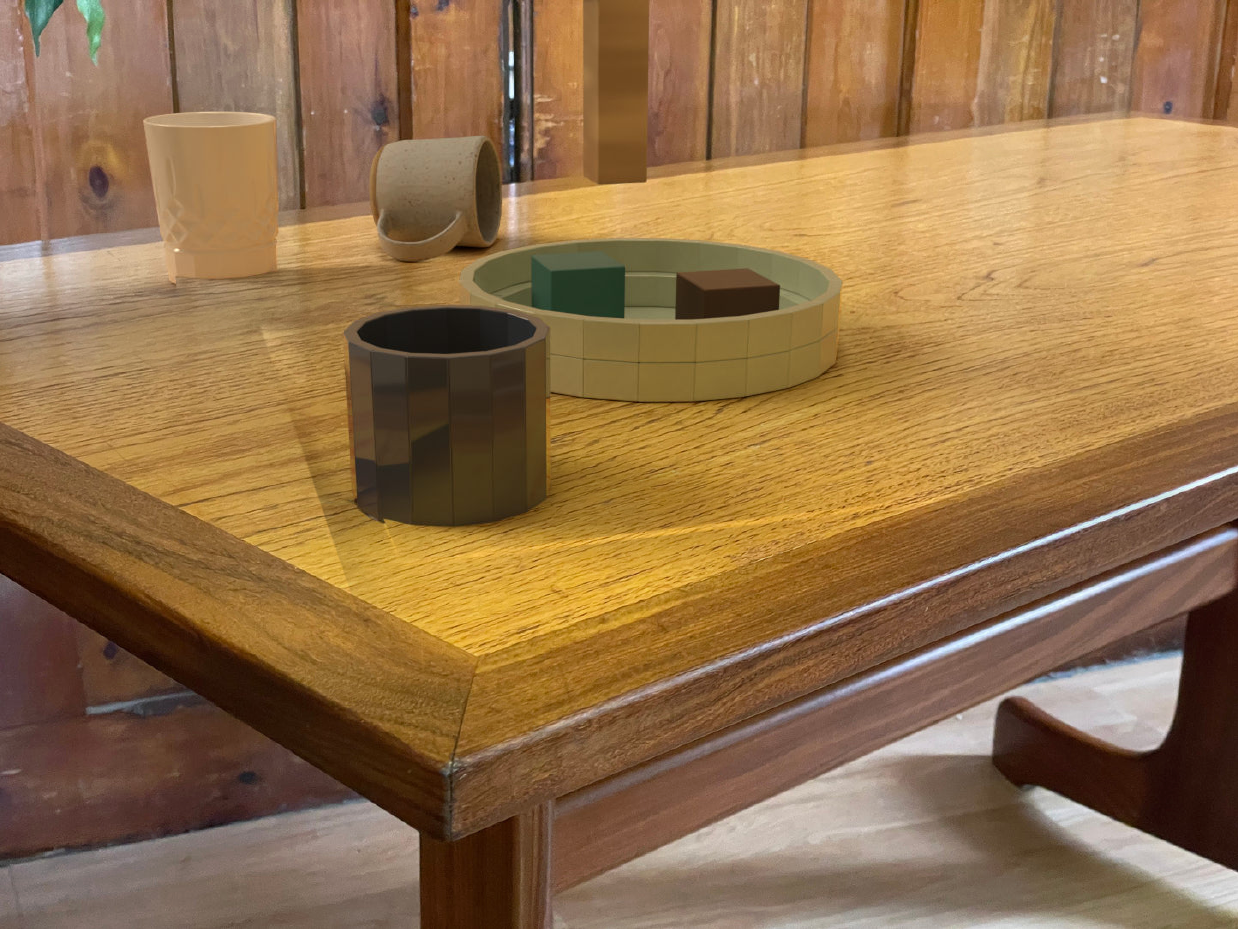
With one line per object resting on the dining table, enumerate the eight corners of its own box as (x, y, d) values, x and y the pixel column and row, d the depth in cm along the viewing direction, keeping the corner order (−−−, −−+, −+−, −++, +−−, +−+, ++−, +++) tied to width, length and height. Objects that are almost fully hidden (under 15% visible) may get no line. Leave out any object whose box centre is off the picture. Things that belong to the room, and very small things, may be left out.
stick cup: (342, 482, 55) (331, 311, 52) (522, 464, 57) (520, 299, 55) (371, 556, 48) (360, 364, 46) (573, 532, 51) (573, 348, 48)
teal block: (531, 327, 75) (530, 254, 73) (601, 322, 76) (602, 250, 74) (551, 346, 71) (551, 270, 70) (624, 341, 72) (625, 266, 71)
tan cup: (132, 283, 86) (114, 120, 83) (218, 260, 93) (204, 108, 90) (230, 298, 83) (216, 129, 80) (312, 273, 90) (302, 116, 86)
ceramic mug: (398, 230, 103) (393, 126, 101) (505, 235, 102) (502, 129, 99) (351, 262, 94) (344, 148, 91) (468, 268, 92) (465, 152, 90)
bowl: (429, 326, 78) (426, 247, 76) (745, 304, 84) (749, 230, 82) (514, 435, 60) (513, 336, 59) (905, 398, 66) (913, 307, 65)
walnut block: (673, 348, 71) (675, 272, 70) (744, 342, 72) (748, 267, 71) (702, 369, 68) (705, 289, 66) (776, 363, 69) (781, 284, 67)
